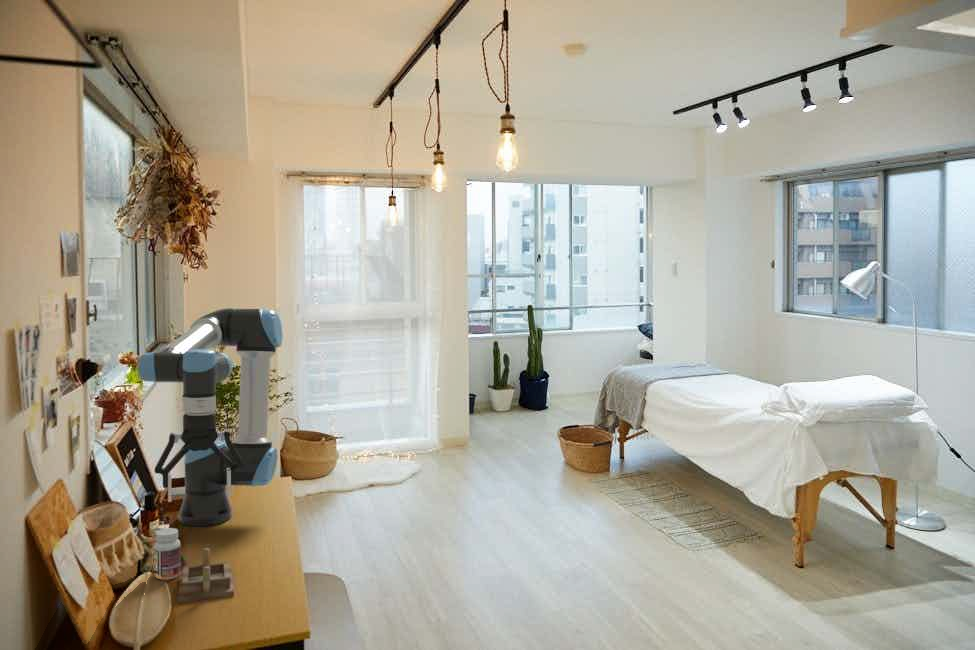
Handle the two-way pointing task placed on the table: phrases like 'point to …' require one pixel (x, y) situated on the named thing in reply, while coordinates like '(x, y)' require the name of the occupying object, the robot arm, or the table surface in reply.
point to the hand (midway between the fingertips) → (199, 497)
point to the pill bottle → (168, 553)
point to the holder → (205, 581)
